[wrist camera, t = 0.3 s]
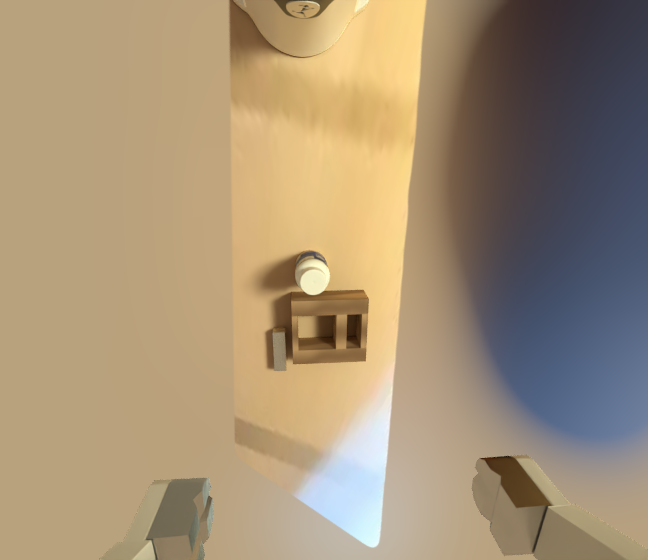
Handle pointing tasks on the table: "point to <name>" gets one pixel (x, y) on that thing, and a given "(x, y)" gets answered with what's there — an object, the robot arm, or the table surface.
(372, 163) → the table surface
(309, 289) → the pill bottle
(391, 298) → the table surface
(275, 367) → the slim grey peg
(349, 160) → the table surface
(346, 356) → the wooden compartment tray
